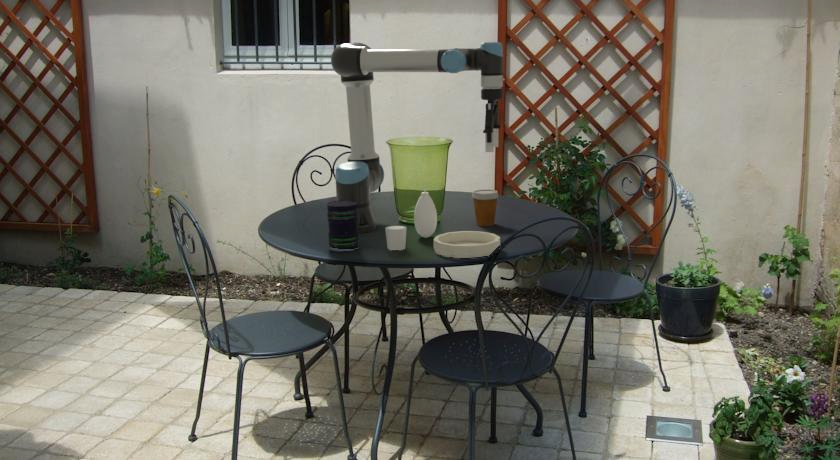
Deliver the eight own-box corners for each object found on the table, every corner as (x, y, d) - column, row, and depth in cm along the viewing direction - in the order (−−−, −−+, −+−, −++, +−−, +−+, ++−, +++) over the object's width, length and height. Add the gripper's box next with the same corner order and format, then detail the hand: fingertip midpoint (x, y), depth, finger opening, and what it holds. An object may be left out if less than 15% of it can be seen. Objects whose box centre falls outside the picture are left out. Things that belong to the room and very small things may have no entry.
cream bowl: (428, 257, 272) (428, 244, 271) (441, 242, 291) (441, 230, 291) (494, 259, 267) (494, 246, 267) (503, 243, 287) (503, 231, 286)
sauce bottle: (414, 234, 303) (413, 183, 299) (437, 234, 303) (436, 182, 299) (414, 240, 296) (412, 186, 292) (437, 239, 295) (436, 186, 292)
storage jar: (334, 253, 280) (332, 207, 277) (324, 247, 289) (322, 202, 286) (363, 249, 284) (362, 204, 281) (353, 243, 293) (351, 199, 289)
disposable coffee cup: (497, 227, 311) (497, 194, 308) (470, 227, 313) (469, 193, 310) (500, 222, 320) (500, 189, 318) (474, 221, 322) (473, 189, 319)
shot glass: (391, 252, 280) (390, 230, 278) (382, 247, 286) (381, 226, 284) (410, 249, 283) (410, 228, 282) (401, 245, 289) (400, 224, 288)
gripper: (498, 90, 291) (498, 154, 296) (507, 85, 315) (506, 144, 320) (475, 90, 293) (476, 154, 298) (486, 85, 317) (486, 144, 321)
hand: (492, 149), depth 309 cm, fingers open, 13 cm apart
